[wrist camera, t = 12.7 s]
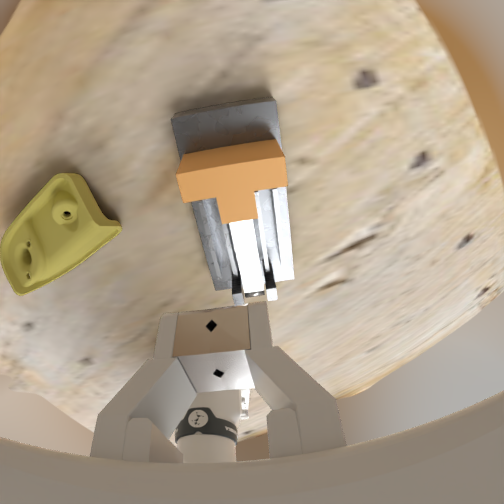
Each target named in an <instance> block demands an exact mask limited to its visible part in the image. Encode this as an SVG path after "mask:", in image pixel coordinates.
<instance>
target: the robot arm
mask: <svg viewBox="0 0 504 504" xmlns="http://www.w3.org/2000/svg"><path fill="white" fill-rule="evenodd" d="M250 388H255V390H256V391H257V392H258V393H259V395H260V396H261V397H262V398H263V399H264V401H265V402H266V403H267V404H268V406H269V407H270V408H271V409H272V411H270V413H269V414H268V415H267V428H268V439H269V440H268V441H269V453H270V459H264V460H252V461H241V462H236V453H235V446H236V445H237V440H238V434H237V429H238V428H239V427H240V419H248V406H249V397H250ZM175 429H176V430H175ZM174 430H175V442H176V443H177V448H176V447H175V446H174V445H173V444H172V443H171V442H170V441H169V438H170V437H171V435H172V434H173V432H174ZM0 504H504V391H502V392H500V393H498V394H496V395H494V396H492V397H489V398H487V399H485V400H483V401H481V402H479V403H476V404H474V405H472V406H470V407H467V408H465V409H462V410H460V411H457V412H455V413H452V414H450V415H447V416H445V417H442V418H440V419H437V420H434V421H431V422H428V423H426V424H423V425H420V426H417V427H414V428H411V429H408V430H405V431H401V432H398V433H395V434H391V435H388V436H384V437H381V438H377V439H373V440H369V441H365V442H361V443H357V444H353V445H349V446H347V445H346V441H345V437H344V432H343V428H342V424H341V419H340V415H339V411H338V406H337V402H336V399H335V398H334V397H333V396H332V395H331V394H330V393H329V392H327V391H326V390H325V389H324V388H323V387H322V386H321V385H320V384H319V383H317V382H316V381H315V380H314V379H313V378H312V377H311V376H310V375H309V374H308V373H307V372H305V371H304V370H303V369H302V368H301V367H300V366H299V365H298V364H297V363H296V362H295V361H293V360H292V359H291V358H290V357H289V356H288V355H287V354H286V353H285V352H284V351H283V350H282V349H281V348H280V347H279V346H274V347H273V341H272V334H271V328H270V321H269V314H268V308H267V302H266V301H262V302H255V303H249V304H243V305H236V306H229V307H221V308H214V309H207V310H197V311H186V312H179V313H167V314H163V315H162V316H161V318H160V323H159V328H158V333H157V339H156V344H155V350H154V355H153V359H148V360H147V361H146V362H145V363H144V364H143V366H142V367H141V368H140V369H139V370H138V371H137V372H136V373H135V374H134V375H133V377H132V378H131V379H130V380H129V381H128V382H127V383H126V384H125V385H124V387H123V388H122V389H121V390H120V391H119V392H118V393H117V394H116V395H115V396H114V398H113V399H112V400H111V401H110V402H109V403H108V404H107V405H106V406H105V408H104V409H103V410H102V411H101V412H100V413H99V414H98V417H97V422H96V427H95V431H94V437H93V442H92V447H91V453H90V456H83V455H77V454H71V453H66V452H60V451H55V450H50V449H45V448H41V447H37V446H32V445H28V444H24V443H20V442H17V441H13V440H10V439H6V438H2V437H0Z"/></svg>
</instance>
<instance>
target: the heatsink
mask: <svg viewBox="0 0 504 504" xmlns="http://www.w3.org/2000/svg"><path fill="white" fill-rule="evenodd" d="M171 122H172V126H173V130H174V135H175V139H176V143H177V147H178V151H179V156H180V160H182V157H183V155H184V154H188V153H193V152H198V151H204V150H209V149H214V148H220V147H226V146H232V145H238V144H244V143H251V142H258V141H265V140H272V139H276V140H277V142H278V144H279V146H280V148H281V150H282V146H281V137H280V129H279V120H278V112H277V104H276V100H275V99H274V98H273V97H266V98H258V99H251V100H244V101H238V102H231V103H225V104H220V105H214V106H209V107H203V108H198V109H193V110H189V111H184V112H179V113H175V114H174V116H173V117H172V118H171ZM254 194H255V200H256V207H257V213H258V219H253V225H254V231H255V237H256V244H257V250H258V256H259V262H260V268H261V274H262V280H263V284H266V291H267V297H268V301H271V300H278V299H277V291H276V285H275V282H278V281H284V280H290V279H294V270H293V258H292V246H291V235H290V223H289V213H288V202H287V192H286V187H279V188H272V189H265V190H259V191H254ZM191 203H192V207H193V211H194V215H195V219H196V222H197V226H198V230H199V233H200V237H201V241H202V244H203V248H204V252H205V255H206V259H207V262H208V266H209V270H210V273H211V277H212V280H213V284H214V287H215V290H216V291H217V290H224V289H231V288H232V296H233V300H234V304H235V306H236V305H243V304H244V291H243V283H242V278H241V274H240V269H239V265H238V260H237V256H236V251H235V247H234V242H233V238H232V233H231V229H230V224H229V223H227V224H222V222H221V217H220V213H219V208H218V204H217V199H216V197H215V198H209V199H204V200H198V201H192V202H191Z"/></svg>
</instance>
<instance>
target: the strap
mask: <svg viewBox="0 0 504 504" xmlns="http://www.w3.org/2000/svg"><path fill="white" fill-rule="evenodd" d="M229 224H230V229H231V233H232V238H233V242H234V247H235V251H236V256H237V260H238V265H239V269H240V274H241V278H242V283H243V287H244V292H245V297H246V298H248V297H254V296H261V295H265V293H264V286H263V280H262V274H261V268H260V262H259V256H258V250H257V244H256V237H255V231H254V225H253V219H252V220H246V221H239V222H233V223H229Z"/></svg>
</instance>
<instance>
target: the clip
mask: <svg viewBox="0 0 504 504" xmlns="http://www.w3.org/2000/svg"><path fill="white" fill-rule="evenodd" d="M176 178H177V181H178V185H179V189H180V193H181V196H182V200H183V203H187V202H192V201H198V200H204V199H209V198H215V197H216V199H217V204H218V208H219V213H220V217H221V222H222V224H227V223H233V222H239V221H246V220H252V219H258V213H257V207H256V200H255V194H254V191H259V190H265V189H272V188H279V187H286V186H288V182H287V172H286V163H285V156H284V154H283V152H282V150H281V148H280V146H279V144H278V142H277V140H276V139H272V140H265V141H258V142H251V143H244V144H238V145H232V146H226V147H220V148H214V149H209V150H204V151H198V152H193V153H188V154H184V155H183V157H182V160H181V162H180V165H179V168H178V170H177V173H176Z"/></svg>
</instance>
